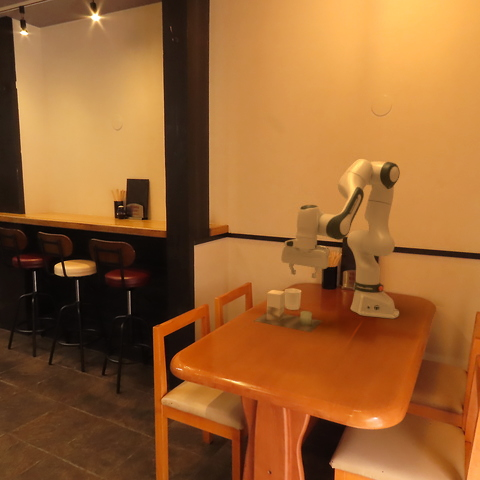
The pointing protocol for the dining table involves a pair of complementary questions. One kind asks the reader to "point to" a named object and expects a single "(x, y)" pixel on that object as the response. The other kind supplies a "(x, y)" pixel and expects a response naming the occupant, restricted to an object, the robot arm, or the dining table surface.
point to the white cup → (292, 299)
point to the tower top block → (276, 298)
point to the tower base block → (275, 313)
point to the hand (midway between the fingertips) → (303, 276)
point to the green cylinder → (305, 318)
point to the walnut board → (289, 322)
